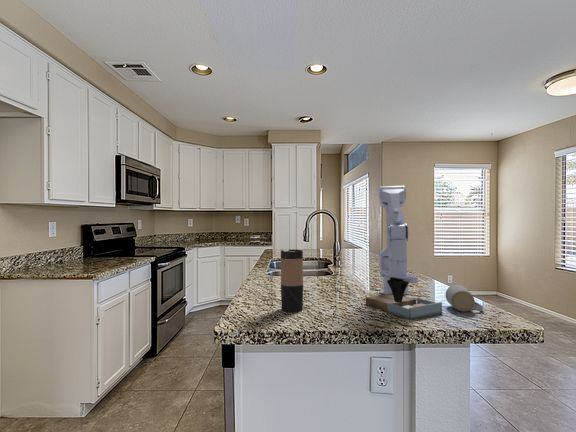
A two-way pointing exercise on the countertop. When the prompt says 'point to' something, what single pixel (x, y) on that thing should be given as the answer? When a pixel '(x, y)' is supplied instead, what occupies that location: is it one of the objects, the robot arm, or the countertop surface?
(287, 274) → the travel mug
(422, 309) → the tray
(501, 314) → the countertop surface
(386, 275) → the robot arm
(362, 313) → the countertop surface
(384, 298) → the walnut board
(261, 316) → the countertop surface
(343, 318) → the countertop surface
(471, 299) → the ceramic mug
